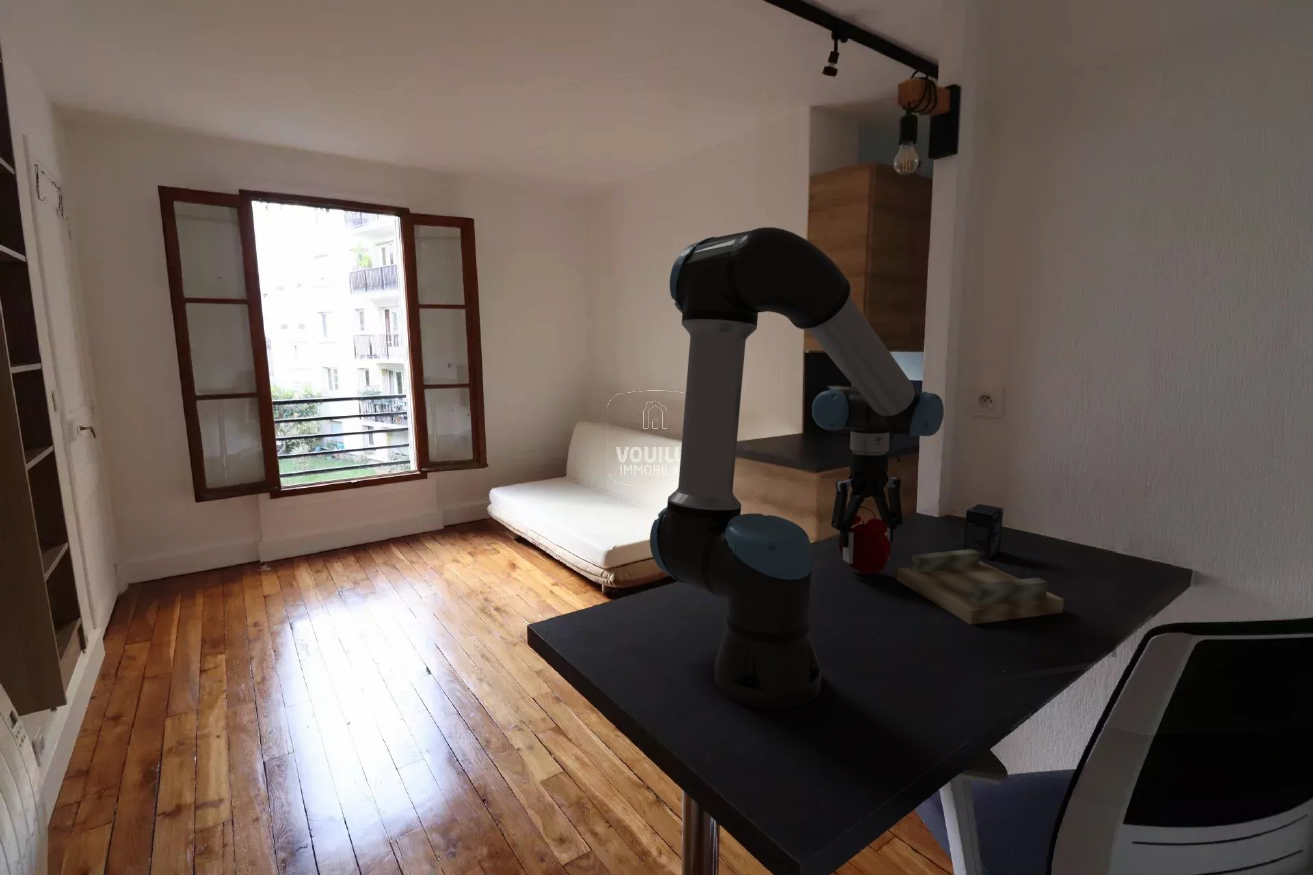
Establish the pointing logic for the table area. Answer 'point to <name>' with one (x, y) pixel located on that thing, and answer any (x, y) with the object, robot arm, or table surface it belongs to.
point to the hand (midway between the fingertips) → (865, 559)
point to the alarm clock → (869, 545)
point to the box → (983, 530)
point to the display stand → (977, 588)
